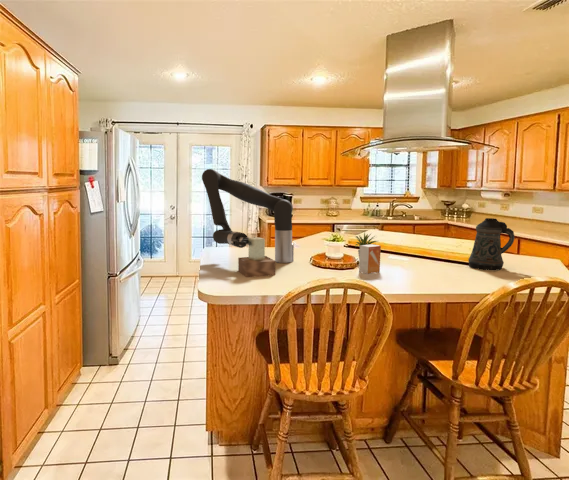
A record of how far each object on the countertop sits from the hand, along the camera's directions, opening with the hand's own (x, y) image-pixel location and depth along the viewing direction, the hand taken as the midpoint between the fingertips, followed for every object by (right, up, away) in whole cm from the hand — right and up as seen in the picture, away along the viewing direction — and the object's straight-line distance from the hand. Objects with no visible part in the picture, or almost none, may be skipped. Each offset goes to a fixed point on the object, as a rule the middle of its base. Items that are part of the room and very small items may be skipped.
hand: (253, 243), depth 216 cm
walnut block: (+1, -14, 0) cm, 15 cm away
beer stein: (+119, -13, +15) cm, 120 cm away
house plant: (+57, -10, +28) cm, 64 cm away
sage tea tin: (+2, -7, -1) cm, 8 cm away
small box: (+56, -14, +3) cm, 58 cm away
